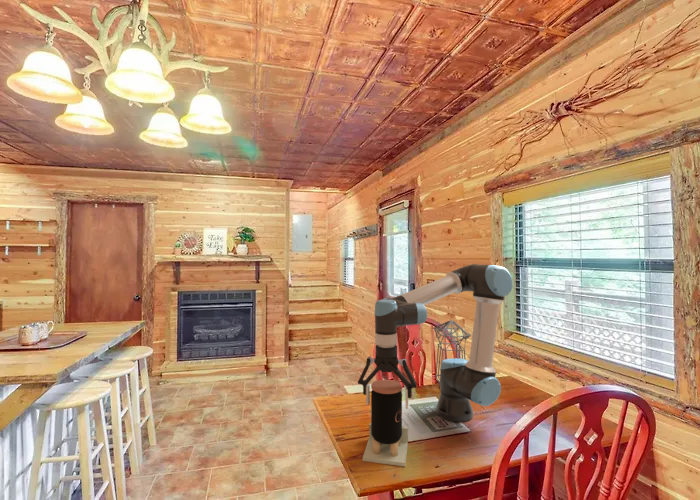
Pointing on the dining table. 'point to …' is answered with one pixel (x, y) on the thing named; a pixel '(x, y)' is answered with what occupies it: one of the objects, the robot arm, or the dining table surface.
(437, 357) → the geometric lantern
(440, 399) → the robot arm
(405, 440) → the peg stand
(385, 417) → the coffee jar
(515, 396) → the dining table surface
